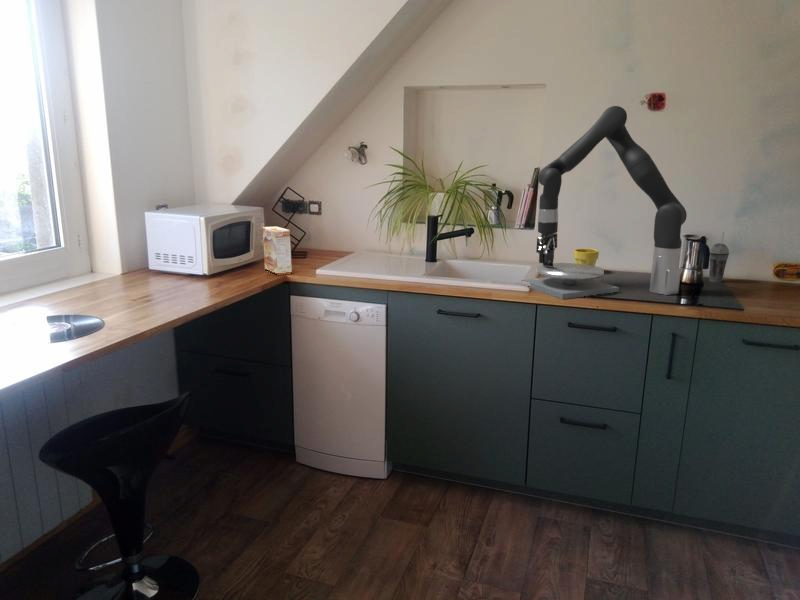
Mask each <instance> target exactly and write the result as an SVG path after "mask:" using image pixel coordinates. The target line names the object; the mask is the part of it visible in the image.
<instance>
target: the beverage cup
mask: <svg viewBox="0 0 800 600" xmlns="http://www.w3.org/2000/svg"><path fill="white" fill-rule="evenodd" d="M724 237H725V231H724V232H722V236H721V240H720V242H719V243H718V242H717V243H714V245H712V246H711V247H710V249H709V252H710V256H709V270H708V271H709V273H708V274H709V282H711V283H722V281H723V279H724V273H725V271H726V270H725V269H726V266H727V265H726V264H727V262H728V258H729V255H730V249H729V247H728V246H727V245H726V244H725V243H724V242H723V241H724Z"/></svg>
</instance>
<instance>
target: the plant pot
mask: <svg viewBox="0 0 800 600" xmlns="http://www.w3.org/2000/svg"><path fill="white" fill-rule="evenodd" d="M599 252H600V251H599V250H597V249H595V248H576V249H574V250H573V258H574V261H575V263H576V264H585V265H591V266H596V263H597V260H598V259H599V255H600V253H599Z"/></svg>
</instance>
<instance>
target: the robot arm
mask: <svg viewBox="0 0 800 600" xmlns="http://www.w3.org/2000/svg"><path fill="white" fill-rule="evenodd" d="M627 120H628V113H627V111H626V109H625V108H624V107H622V106H618V105H612V106H609V107H608V108H606V109H605V110H604V111H603V112H602V114H601V116H599V118H598V120H596V121H595V123H594V124H593V125H592V126H591V127H590V128H589V129H588V130H587V131H586V132H585V133H584V134H583V135H582V136H581V137H580V138H578V140H576V141H575V142H574V143H572V145H570V146H569V147H568V148H567V149H566V150H565V151H564V152H562V153H561V155H560V156H558V157H557V158H556V159H555V160H553V161H551V162H549V163H548V164H546V166H544V167H543V168H542V169H541V170H540V171H539V173H538V176H537V180H538V183H539V184H541V185H542V186H543V189H542V193H541V195H540V196H539V205H538V207H539V209H538V216H537V218H538V219H537V220H538V221H537V233H538V234H541V235H540V237H539V236H538V237H536V249H535V251H536V253H537V254H539V256H538V262H539V264H543V263H545V252H546V250H547V249H552V250H554V251H555V250H556V249H557V248H558V232H559V231H558V229H559V227H558V226H559V195H560V192H561V186H562V183H563V182H562V176H563V175H564V174H566V173H569V172H571V171H572V170H574V169H575V168H577V166H578V165H579V164H580V163H581V162H582V161H584V160H585V159H586V158H587V157H588V155H589V154H590V153H591V152H592V151H593V150H594V149H595V147H597V146H598V145H599V144H600V142H602V141H603V140H604V138H605V139H606V140H607V141H608V142H609V143H610V145H611V146H612V147H613V148H614V150H615V152H616V153H617V155H618V157H619V159H620V160H621V162H622V164H623V166H624V167H625V169H626V170H627V172H628V174H629V176H630V177H631V179H632V180H633V182H634V183H635V185H636V186H637V187H638V188H639V189H641V191H643V192H644V194H646V195H647V196H648V197H649V199H650V200H651V201H652V202H653V204H654V206H655V207H656V209H657V210H656V213H655V217H654V226H653V227H654V228H653V241H654V244H653V245H654V246H653V253H652V263H651V266H652V267H651V274H650V282H649V283H650V284H649V286H650V287H649V292H650V293H653V294H660V295H666V296H668V295H677V294H679V291H680V289H679V288H680V282H681V281H680V280H681V272H682V268H680V260H681V253H682V252H681V251H682V244H683V243H682V239H681V231H682V226H683V224H684V223H685V222H686V220H687V215H688V214H687V210H686V208H685V207H684V205H683V204H682V203H681V201H679V199H678V198H677V197H676V195H675V194H674V193H673V192H672V191H671V189H670V187H669V186H668V184H667V182H666V181H665V178H664V177H663V175H662V174H661V172H660V170H659V169H658V167H657V165H656V163H655V162H654V160H653V158H652V157H651V155H650V154H649V153H648V152H647V151H646V150H645V149H644V148H643V147H641V146H640V145H639V144H638V143H636V141H634V139H633V138H632V137H631V135H630V133H629V131H628V129H627V127H626V123H627Z"/></svg>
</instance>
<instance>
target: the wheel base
mask: <svg viewBox="0 0 800 600" xmlns="http://www.w3.org/2000/svg"><path fill="white" fill-rule="evenodd" d="M520 281H526V282H529V283H530V284H531V288H530V289H532V290H536V291H538V292H541V293H543V294H546V295H549V296H552V297H554V298H557V299H561V300H567V299H575V298H583V297H584V296H585V297H590V296H589V295H594V296H597V295H596V294H602V295H604V294H603V293H611V294H614V293H613V292H618V293H619V290H620V287H618V286H615V285H612V284H608V283H605V282H602V281H599V280H598V281H597V280H594V279H581V280H576V279H560V278H552V277H547V276H544V277H537V278H527V279H521V280H520Z"/></svg>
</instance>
